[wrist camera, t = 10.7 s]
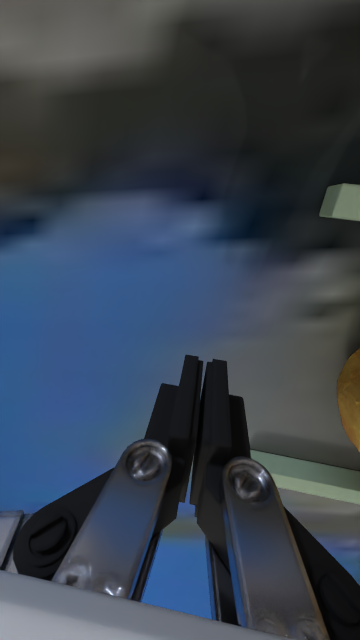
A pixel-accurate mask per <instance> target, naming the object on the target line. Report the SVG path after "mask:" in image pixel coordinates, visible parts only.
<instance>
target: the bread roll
mask: <svg viewBox="0 0 360 640" xmlns="http://www.w3.org/2000/svg"><path fill="white" fill-rule="evenodd" d="M337 401H338V406H339V411H340V416H341V421H342V425H343V427H344V429H345V432H346V434H347V436H348V438H349V439H350V441H351V442H352V443H353V444H354V445H355V446H356V448H357V449H358V450H359V452H360V348H359V349H358V350H357V351H356V352H355V353H354V354H353V355H351V356H350V357H349V359H348V360H347V362H346V363H345V365H344V367H343V369H342V371H341V373H340V375H339V378H338V380H337Z"/></svg>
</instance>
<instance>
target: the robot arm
mask: <svg viewBox="0 0 360 640" xmlns="http://www.w3.org/2000/svg"><path fill="white" fill-rule="evenodd" d="M198 358H199V357H198V356H192V355H185V360H184V365H183V370H182V374H181V379H180V384H179V386H175V385H169V384H163V383H162V384H161V386H160V389H159V393H158V396H157V399H156V402H155V405H154V409H153V412H152V415H151V418H150V422H149V425H148V428H147V431H146V434H145V438H144V439H141V440H138V441H135V442H133V443H132V444H131V445H129V446H128V447H127V448H126V449H125V451H124V452H123V454H122V455H121V457H120V459H119V461H118V463H117V464H116V466H115V467H114V468H113V469H111V470H109V471H107V472H105V473H104V474H102V475H100V476H98V477H96V478H95V479H93V480H91V481H89V482H88V483H86V484H84V485H82V486H80V487H79V488H77V489H75V490H73V491H71V492H70V493H68V494H66V495H64V496H63V497H61V498H59V499H57V500H55V501H54V502H52V503H50V504H48V505H47V506H45V507H43V508H41V509H40V510H39V511H37V512H36V513H32V514H24V511H23V510H19V511H2V512H0V640H360V586H359V584H358V583H357V582H356V581H355V580H354V578H353V577H352V576H351V575H350V574H349V573H348V572H347V571H346V570H345V569H344V568H343V567H342V566H341V565H340V564H339V563H338V561H337V560H336V559H335V558H334V557H333V556H332V555H331V554H330V553H329V552H328V551H327V550H326V549H325V548H324V547H323V546H322V545H321V544H320V543H319V542H318V541H317V540H316V539H315V538H314V537H313V536H312V535H311V534H310V533H309V532H308V531H307V530H306V529H305V528H304V527H303V526H302V525H301V524H300V523H299V522H298V520H297V519H296V518H295V517H294V516H293V515H292V514H291V513H290V512H289V511H288V510H287V509H286V508H285V507H284V506H283V504H282V501H281V498H280V496H279V493H278V490H277V487H276V484H275V482H274V480H273V478H272V476H271V474H270V473H269V471H268V470H267V469H266V468H265V467H264V466H263V465H262V464H260V463H259V462H258V461H255V460H253V459H251V452H250V445H249V437H248V430H247V422H246V415H245V407H244V401H243V398H242V397H239V396H233V395H229V391H228V375H227V361H222V360H216V359H213V361H212V362H207V366H206V372H205V377H204V383H203V388H202V394H201V399H200V393H201V382H202V371H203V361H200V360H198ZM193 455H194V460H193ZM192 461H193V471H192V482H191V492H190V504H193V505H196V506H195V517H197V524H198V525H199V527H200V528H201V530H202V531H203V532H204V534H205V547H206V558H207V570H208V582H209V593H210V605H211V617H212V620H211V619H207V618H203V617H199V616H195V615H190V614H186V613H182V612H178V611H174V610H170V609H165V608H161V607H157V606H153V605H149V604H145V603H141V602H142V599H143V596H144V592H145V589H146V586H147V582H148V579H149V576H150V572H151V569H152V566H153V562H154V559H155V556H156V552H157V549H158V546H159V542H160V539H161V536H162V532H163V528H165V527H166V526H167V525H168V524H170V523H171V522H172V521H173V520H175V519H176V516H177V510H178V504H179V502H183V503H185V498H186V492H187V487H188V482H189V476H190V471H191V466H192Z"/></svg>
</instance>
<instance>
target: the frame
mask: <svg viewBox="0 0 360 640" xmlns="http://www.w3.org/2000/svg"><path fill="white" fill-rule="evenodd" d="M319 216H320V217H329V218H337V219H345V220H353V221H360V185H355V184H346V183H343V184H338V185H334V186H329V187H328V188H327V191H326V194H325V197H324V200H323V204H322V207H321V210H320V213H319ZM250 452H251V459H253V460H255V461H258V462H259V463H260V464H262V465H263V466H264V467H265V468H266V469H267V470H268V471H269V473H270V474H271V476H272V478H273V480H274V482H275V484H276V487H279V488H284V489H289V490H294V491H298V492H303V493H308V494H313V495H317V496H322V497H327V498H332V499H337V500H341V501H346V502H351V503H356V504H360V471H355V470H350V469H345V468H340V467H335V466H330V465H325V464H320V463H315V462H309V461H304V460H299V459H294V458H289V457H284V456H279V455H274V454H269V453H264V452H259V451H254V450H250Z"/></svg>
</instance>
